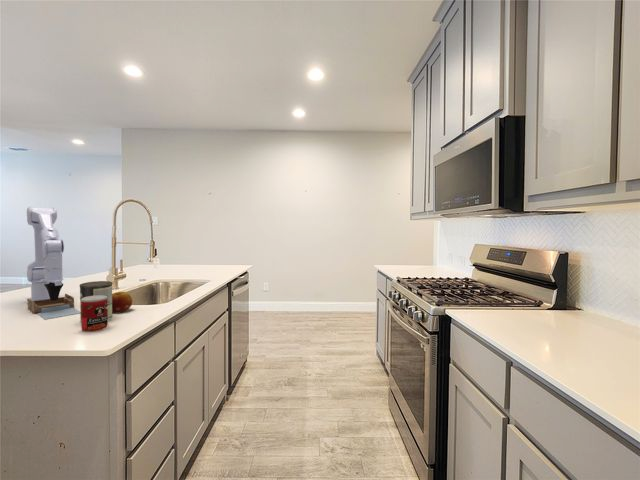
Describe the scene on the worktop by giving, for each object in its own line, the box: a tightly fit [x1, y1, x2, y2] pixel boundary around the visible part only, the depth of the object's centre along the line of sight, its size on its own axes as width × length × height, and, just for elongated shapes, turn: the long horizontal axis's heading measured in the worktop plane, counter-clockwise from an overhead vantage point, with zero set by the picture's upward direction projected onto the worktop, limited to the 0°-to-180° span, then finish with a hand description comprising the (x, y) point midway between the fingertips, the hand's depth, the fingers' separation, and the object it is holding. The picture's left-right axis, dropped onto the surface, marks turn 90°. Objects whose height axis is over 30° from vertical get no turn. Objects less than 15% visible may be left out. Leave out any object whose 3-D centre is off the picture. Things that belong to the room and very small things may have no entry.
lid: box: [37, 304, 80, 321], centre depth 127 cm, size 12×12×2 cm
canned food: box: [80, 295, 109, 333], centre depth 110 cm, size 8×8×11 cm
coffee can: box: [79, 280, 113, 323], centre depth 120 cm, size 10×10×14 cm
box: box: [27, 293, 75, 315], centre depth 134 cm, size 12×13×4 cm
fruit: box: [112, 291, 133, 313], centre depth 132 cm, size 10×9×8 cm
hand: (54, 300), depth 131 cm, fingers closed
